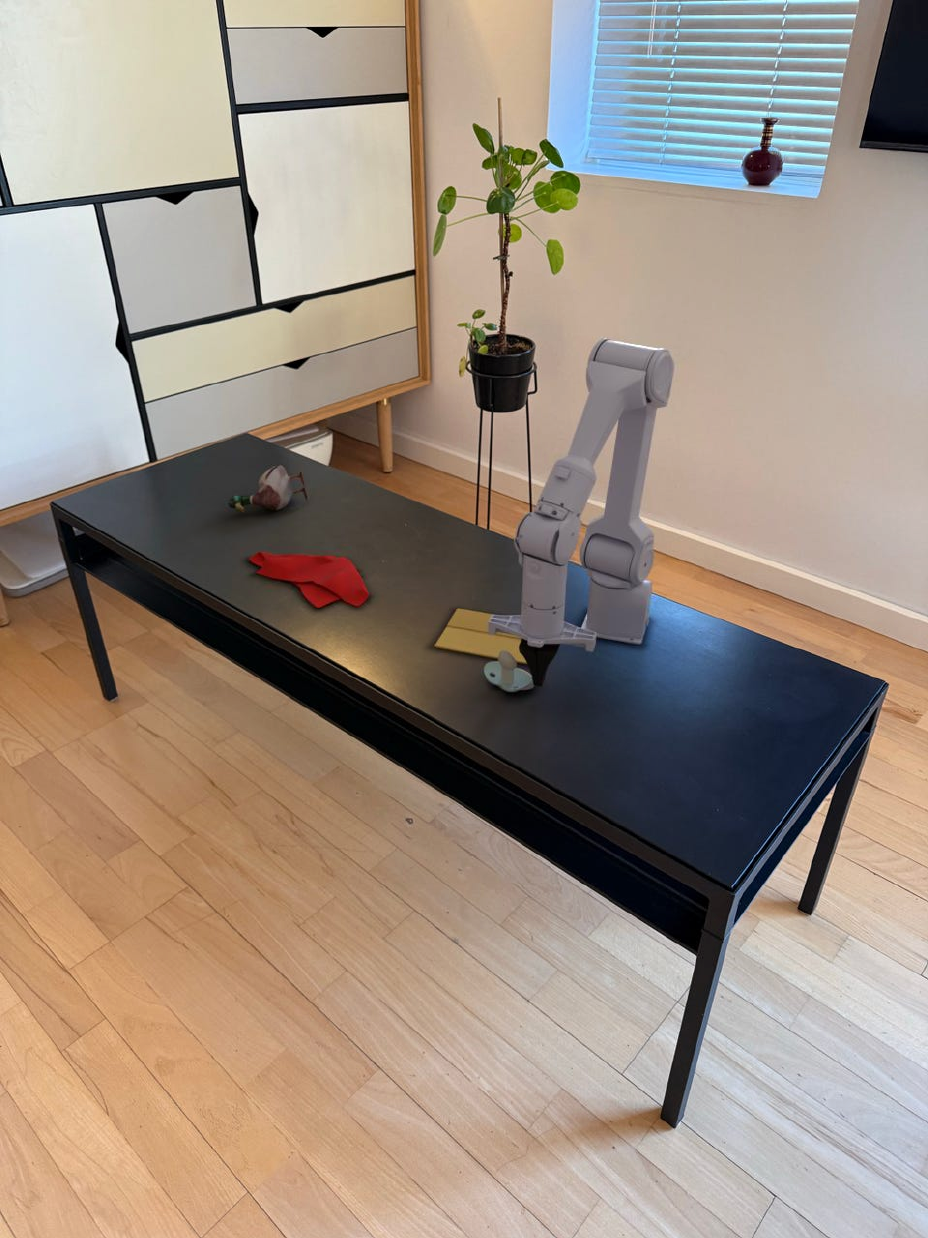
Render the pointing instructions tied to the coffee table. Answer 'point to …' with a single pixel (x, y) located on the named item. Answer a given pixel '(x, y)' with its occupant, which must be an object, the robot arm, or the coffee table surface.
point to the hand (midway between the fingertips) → (539, 682)
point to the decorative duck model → (270, 491)
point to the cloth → (316, 576)
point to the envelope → (477, 636)
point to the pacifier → (508, 673)
